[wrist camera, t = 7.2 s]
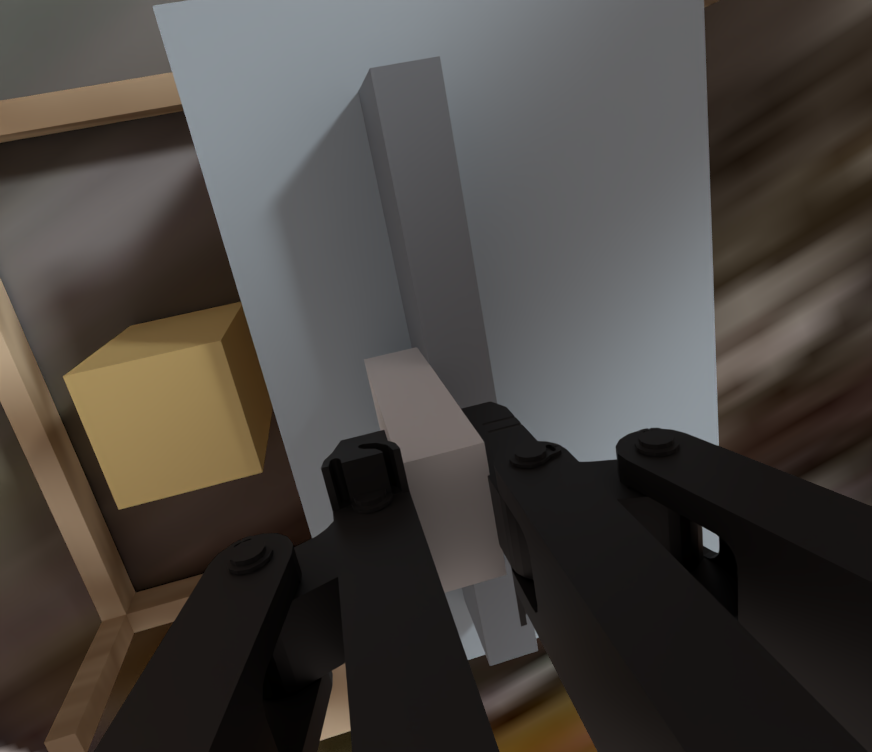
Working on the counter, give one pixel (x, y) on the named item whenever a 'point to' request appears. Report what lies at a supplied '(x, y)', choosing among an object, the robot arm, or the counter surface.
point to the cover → (463, 218)
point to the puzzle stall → (48, 440)
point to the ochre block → (175, 405)
